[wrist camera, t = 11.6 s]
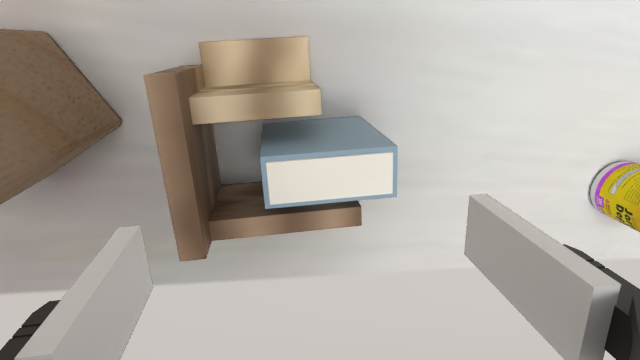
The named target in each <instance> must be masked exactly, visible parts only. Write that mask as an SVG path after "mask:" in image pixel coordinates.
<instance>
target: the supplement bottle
mask: <svg viewBox="0 0 640 360" xmlns="http://www.w3.org/2000/svg"><path fill="white" fill-rule="evenodd" d="M590 197H591V201H592V203H593V205H594V207H595V208H596V209H597V210H599V211H600V212H602V213H604V214H606V215H608V216H610V217H611V218H613V219H615V220H617V221H619V222H621V223H623V224H625V225H627V226H629V227H631V228H633V229H635V230H637V231H639V232H640V165H639V164H636V163H633V162H627V161H622V162H617V163H614V164H611V165H609V166H608V167H606V168H605V169H603V170H602V171H601V172H600V173H599V174H598V175H597V177H596V178H595V180H594V182H593V184H592V187H591V192H590Z"/></svg>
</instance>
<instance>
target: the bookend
mask: <svg viewBox="0 0 640 360" xmlns="http://www.w3.org/2000/svg"><path fill="white" fill-rule="evenodd" d="M199 47H200V54H201V61H202V68H203V74H204V81H205V88H203V89H202V90H200V91H199V92H197V93H196V94H194V95H193V96H191V97H190V98H189V105H190V111H191V117H192V123H193V125H194V124H207V123H220V122H234V121H247V120H260V119H274V118H287V117H300V116H314V115H322V108H321V89H320V88H319V87H318V86H316V85H315V84H314V83H313V82H312V81H311V80H310V64H309V47H308V36H304V37H286V38H268V39H250V40H233V41H215V42H199Z"/></svg>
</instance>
